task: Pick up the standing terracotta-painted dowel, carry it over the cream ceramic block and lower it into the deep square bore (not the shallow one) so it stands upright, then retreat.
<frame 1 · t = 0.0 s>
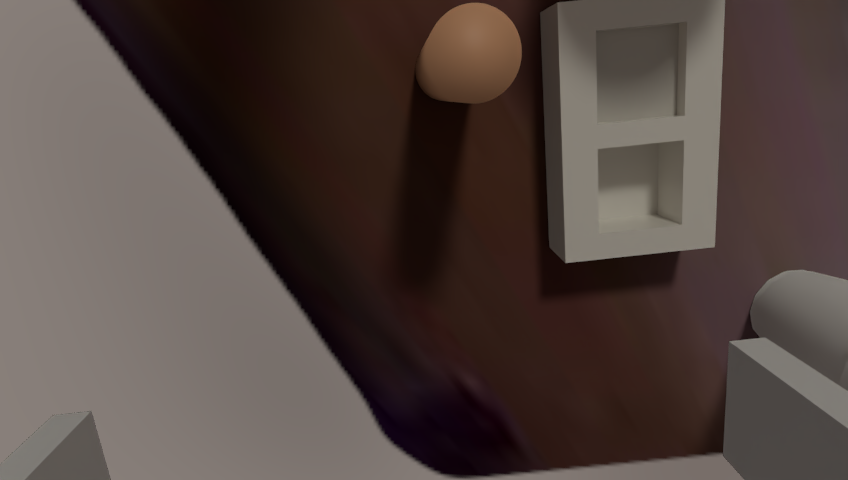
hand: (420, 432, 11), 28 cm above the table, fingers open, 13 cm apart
bore block: (616, 128, 38), on the table
foam cup: (788, 307, 42), on the table
pin: (445, 70, 36), on the table
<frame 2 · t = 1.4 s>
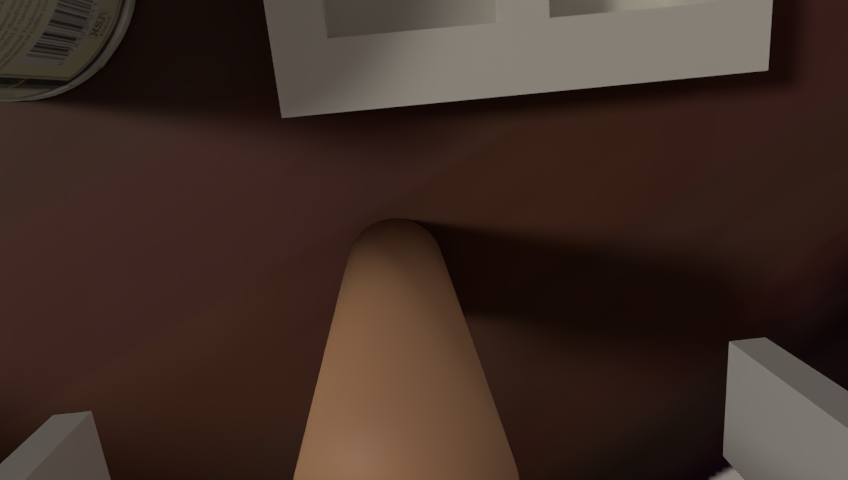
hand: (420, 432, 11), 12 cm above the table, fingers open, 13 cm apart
pin: (395, 264, 23), on the table
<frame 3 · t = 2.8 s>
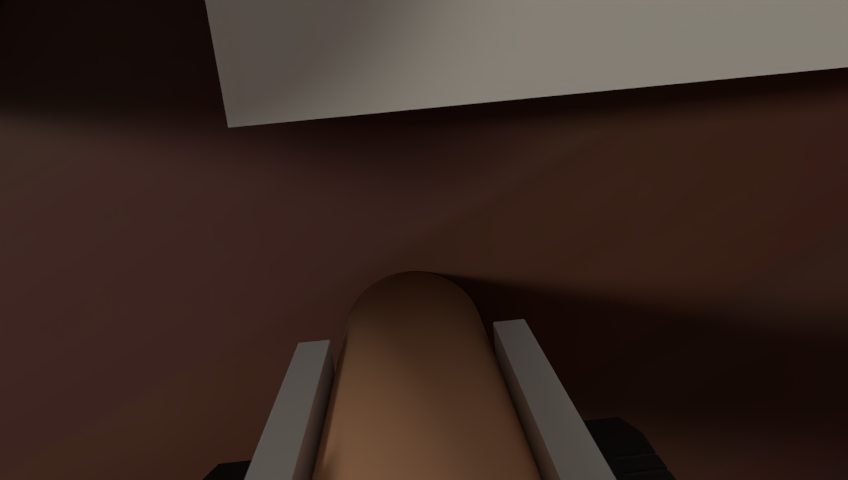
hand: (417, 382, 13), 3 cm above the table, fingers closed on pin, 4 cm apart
pin: (414, 336, 16), on the table, touching gripper
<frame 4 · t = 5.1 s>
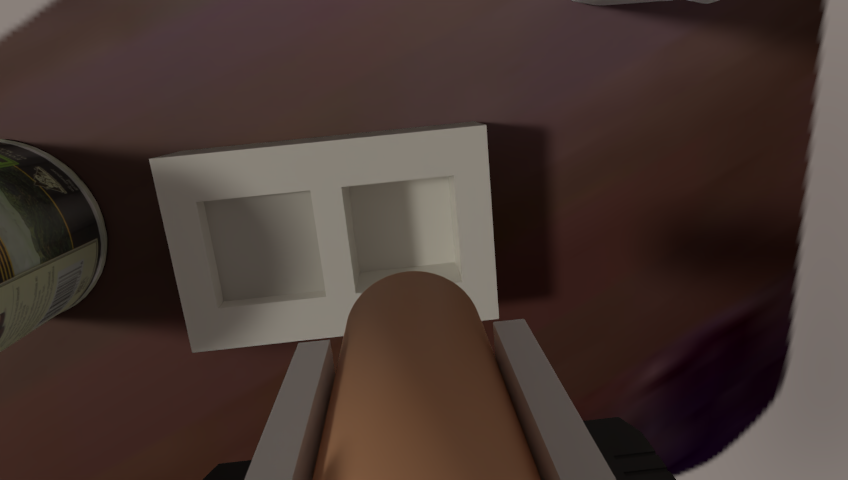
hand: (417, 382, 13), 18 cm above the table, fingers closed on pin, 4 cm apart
bore block: (341, 225, 31), on the table
coffee can: (14, 232, 30), on the table
pin: (413, 335, 16), point 16 cm above the table, touching gripper
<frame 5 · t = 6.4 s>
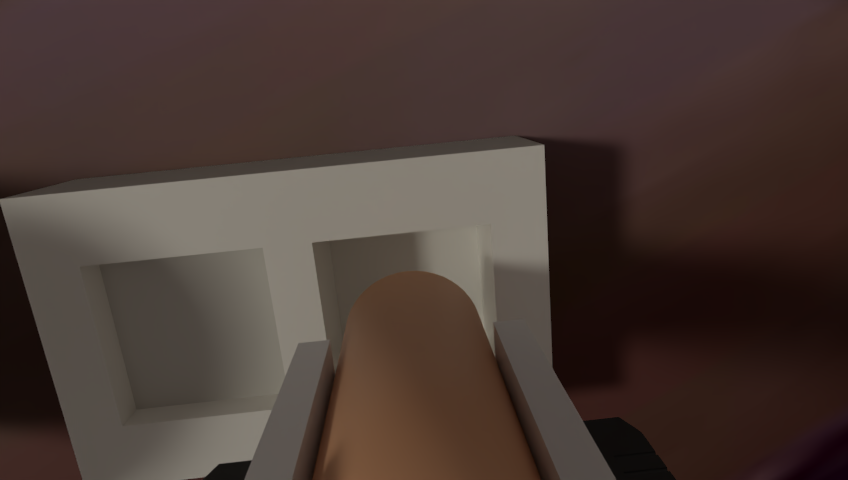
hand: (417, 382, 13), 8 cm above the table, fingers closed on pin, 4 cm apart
bore block: (318, 286, 21), on the table
pin: (413, 335, 16), point 5 cm above the table, touching gripper
when the fingers open (5 cm above the table, at t = 7.2 s): pin drops 1 cm, resting on bore block.
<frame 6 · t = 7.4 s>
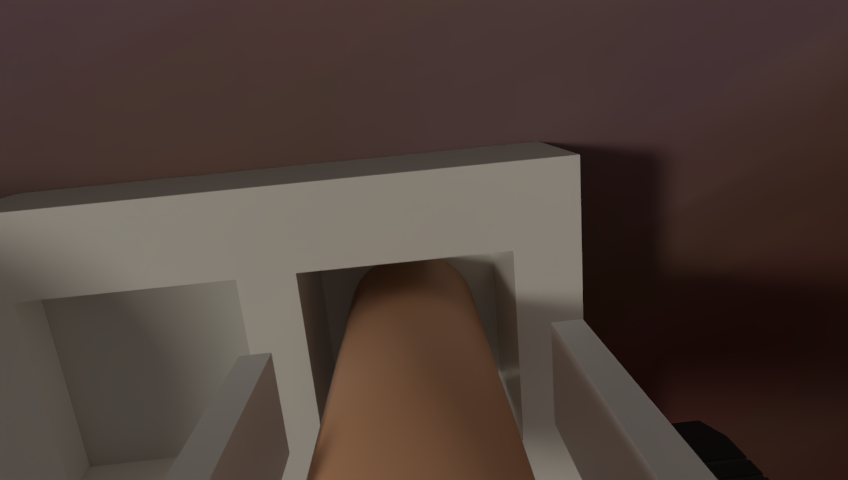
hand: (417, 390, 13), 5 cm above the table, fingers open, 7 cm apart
bore block: (307, 316, 18), on the table
pin: (412, 312, 18), point 1 cm above the table, touching bore block
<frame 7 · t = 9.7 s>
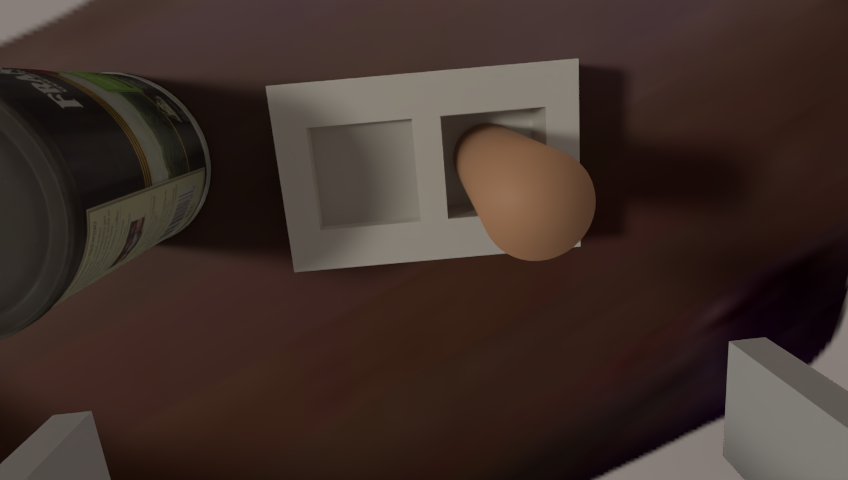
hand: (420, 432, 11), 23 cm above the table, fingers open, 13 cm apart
bore block: (427, 160, 33), on the table
coffee can: (126, 162, 33), on the table
pin: (486, 157, 32), point 1 cm above the table, touching bore block
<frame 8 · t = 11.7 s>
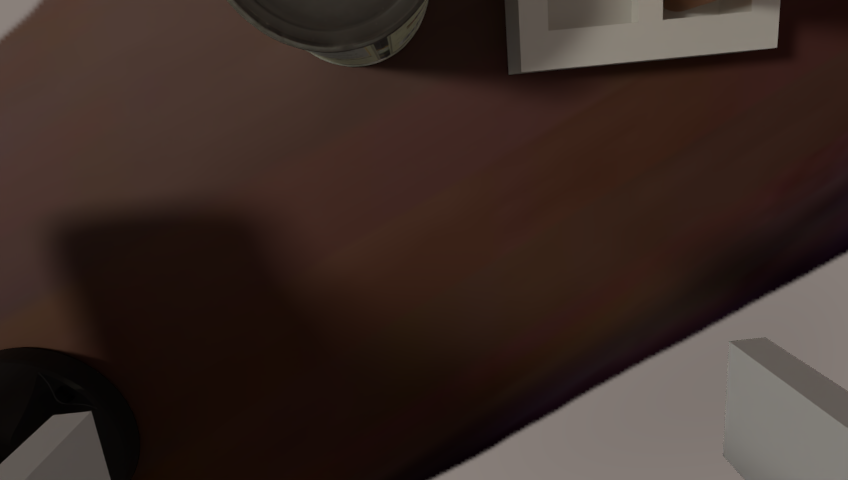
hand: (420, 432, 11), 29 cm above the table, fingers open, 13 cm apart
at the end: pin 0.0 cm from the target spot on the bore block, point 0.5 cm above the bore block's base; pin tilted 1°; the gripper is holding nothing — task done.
